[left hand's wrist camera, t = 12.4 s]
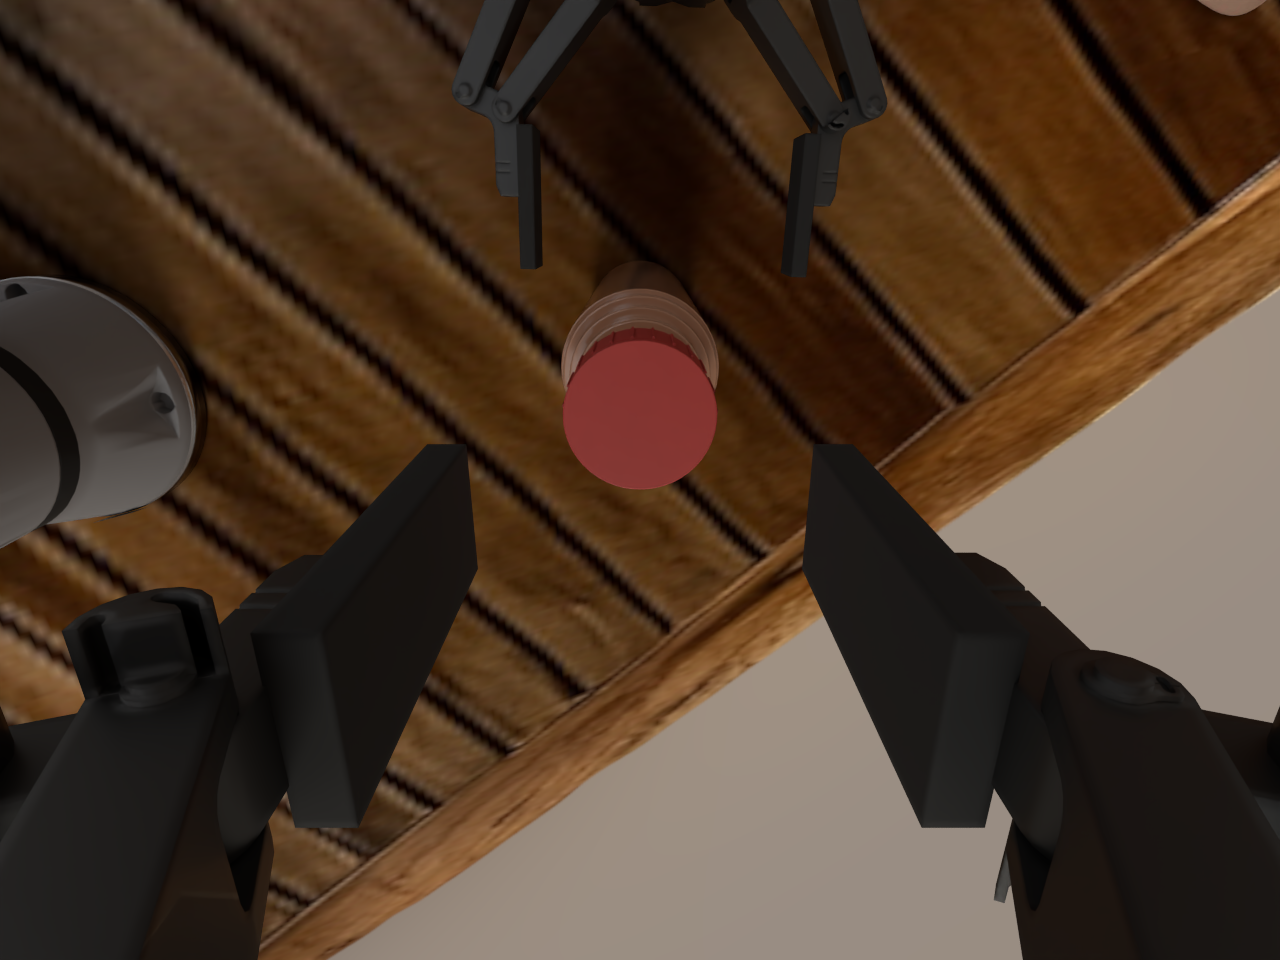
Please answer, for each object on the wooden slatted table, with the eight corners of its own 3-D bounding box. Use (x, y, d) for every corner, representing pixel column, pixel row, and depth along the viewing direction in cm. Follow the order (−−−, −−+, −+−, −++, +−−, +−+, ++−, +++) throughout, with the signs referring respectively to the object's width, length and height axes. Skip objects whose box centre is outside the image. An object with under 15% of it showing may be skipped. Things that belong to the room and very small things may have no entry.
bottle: (635, 378, 45) (630, 543, 22) (571, 306, 43) (495, 404, 20) (708, 316, 43) (782, 424, 21) (644, 239, 42) (650, 264, 19)
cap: (633, 491, 24) (632, 520, 21) (538, 391, 22) (527, 410, 20) (740, 405, 22) (751, 425, 20) (647, 294, 21) (648, 303, 19)
